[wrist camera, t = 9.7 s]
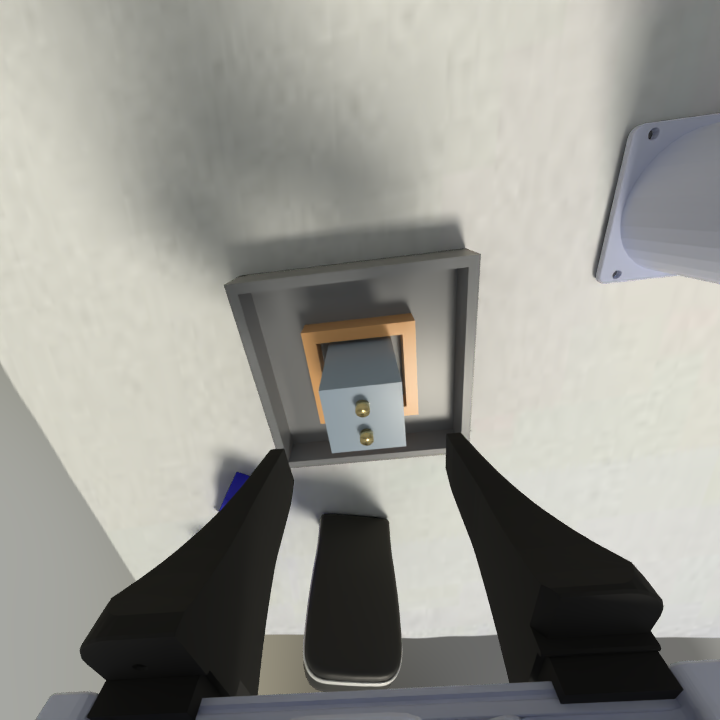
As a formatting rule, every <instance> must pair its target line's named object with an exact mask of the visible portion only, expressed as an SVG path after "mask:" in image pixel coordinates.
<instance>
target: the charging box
mask: <svg viewBox="0 0 720 720" xmlns="http://www.w3.org/2000/svg"><path fill="white" fill-rule="evenodd" d="M480 259H481V254H479V253H477V252H474V251H471V250H469V249H466V248H465V249H457V250H449V251H441V252H432V253H424V254H416V255H408V256H400V257H391V258H383V259H375V260H367V261H359V262H350V263H342V264H334V265H326V266H318V267H309V268H301V269H293V270H285V271H277V272H268V273H260V274H252V275H244V276H239V277H237V278H235V279H234V280H232V281H230V282H228V283H227V284H225V285H224V287H225V290H226V293H227V296H228V300H229V303H230V306H231V309H232V312H233V315H234V318H235V321H236V325H237V328H238V331H239V334H240V337H241V340H242V343H243V347H244V350H245V353H246V356H247V359H248V362H249V365H250V369H251V372H252V375H253V378H254V381H255V384H256V387H257V391H258V394H259V397H260V400H261V403H262V406H263V409H264V412H265V416H266V419H267V422H268V425H269V428H270V431H271V434H272V438H273V441H274V444H275V447H276V449H283V448H284V449H285V453H286V456H287V459H288V463H289V466H290V468H299V467H310V466H321V465H332V464H344V463H355V462H366V461H378V460H389V459H400V458H411V457H423V456H434V455H445V454H446V434H448V433H459V432H461V433H462V434H463V435H464V436H465V437H466V439H467V440H468V441H470V424H471V408H472V391H473V375H474V358H475V342H476V325H477V309H478V292H479V276H480ZM385 336H391V340H392V344H393V348H394V352H395V356H396V360H397V365H398V369H399V373H400V377H401V381H402V392H403V406H404V421H405V435H406V446H403V447H393V448H382V449H372V450H361V451H351V452H340V453H332V451H331V446H330V442H329V437H328V433H327V428H326V423H325V419H324V414H323V410H322V405H321V400H320V396H319V386H320V382H321V377H322V372H323V368H324V363H325V359H326V354H327V350H328V345H329V343H330V342H339V341H348V340H357V339H366V338H375V337H385Z"/></svg>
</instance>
